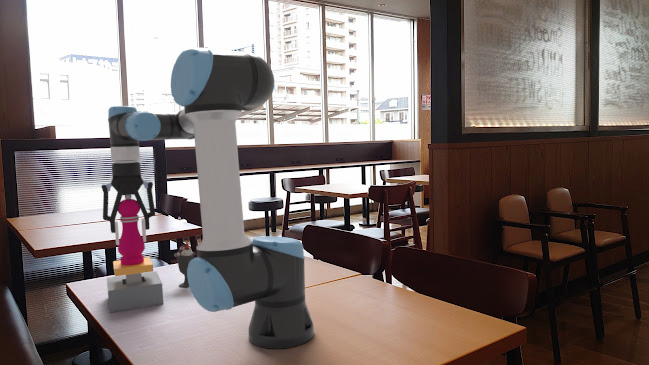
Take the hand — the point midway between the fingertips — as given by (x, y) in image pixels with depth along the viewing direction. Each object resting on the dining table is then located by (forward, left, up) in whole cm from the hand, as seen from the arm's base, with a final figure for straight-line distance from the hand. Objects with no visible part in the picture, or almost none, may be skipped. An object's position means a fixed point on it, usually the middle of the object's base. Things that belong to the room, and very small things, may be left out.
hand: (131, 242), depth 144 cm
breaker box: (0, 0, -17) cm, 17 cm away
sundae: (+8, -16, -17) cm, 25 cm away
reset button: (0, 0, -13) cm, 13 cm away
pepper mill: (0, 0, -6) cm, 6 cm away
